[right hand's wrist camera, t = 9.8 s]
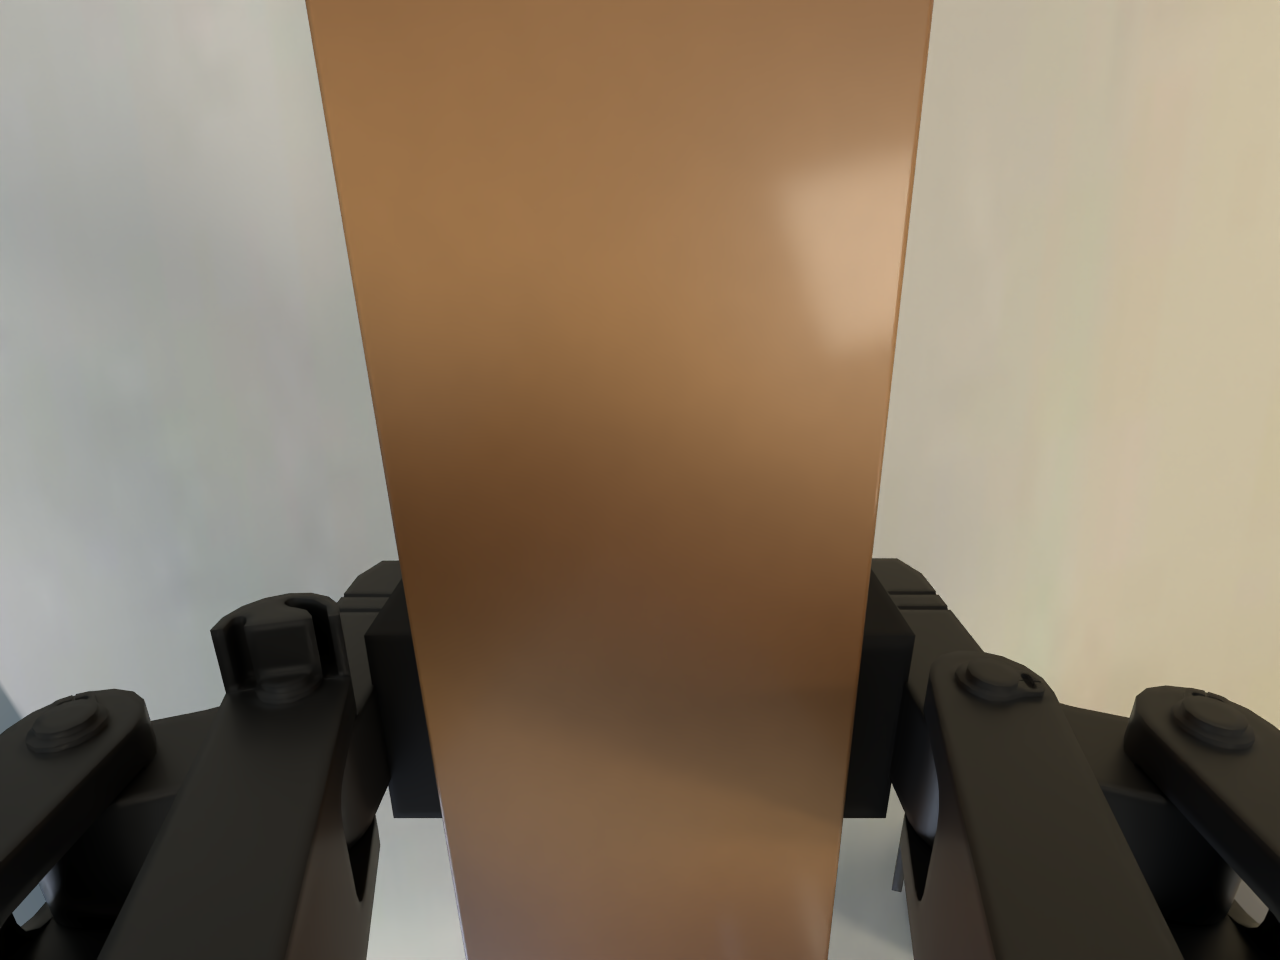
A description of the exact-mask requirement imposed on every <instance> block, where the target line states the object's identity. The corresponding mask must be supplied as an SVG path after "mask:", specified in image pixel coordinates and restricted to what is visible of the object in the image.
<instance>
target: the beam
mask: <svg viewBox="0 0 1280 960" xmlns="http://www.w3.org/2000/svg"><path fill="white" fill-rule="evenodd" d="M305 2H306V8H307V14H308V20H309V26H310V32H311V38H312V43H313V49H314V55H315V61H316V67H317V73H318V79H319V85H320V91H321V97H322V103H323V109H324V115H325V121H326V127H327V133H328V139H329V145H330V151H331V157H332V163H333V169H334V175H335V181H336V187H337V193H338V199H339V204H340V210H341V216H342V222H343V228H344V234H345V240H346V246H347V252H348V258H349V264H350V270H351V276H352V282H353V288H354V294H355V300H356V306H357V312H358V318H359V324H360V330H361V336H362V342H363V348H364V354H365V360H366V365H367V371H368V377H369V383H370V389H371V395H372V401H373V407H374V413H375V419H376V425H377V431H378V437H379V443H380V449H381V455H382V461H383V467H384V473H385V479H386V485H387V491H388V497H389V503H390V509H391V515H392V521H393V526H394V532H395V538H396V544H397V550H398V556H399V562H400V568H401V574H402V580H403V586H404V592H405V598H406V604H407V610H408V616H409V622H410V628H411V634H412V640H413V646H414V652H415V658H416V664H417V670H418V676H419V682H420V687H421V693H422V699H423V705H424V711H425V717H426V723H427V729H428V735H429V741H430V747H431V753H432V759H433V765H434V771H435V777H436V783H437V789H438V795H439V801H440V807H441V813H442V819H443V825H444V831H445V837H446V843H447V848H448V854H449V860H450V866H451V872H452V878H453V884H454V890H455V896H456V902H457V908H458V914H459V920H460V926H461V932H462V938H463V944H464V950H465V956H466V960H827V959H828V950H829V941H830V932H831V923H832V914H833V905H834V896H835V887H836V878H837V869H838V860H839V851H840V842H841V833H842V824H843V815H844V806H845V797H846V788H847V779H848V770H849V761H850V752H851V743H852V734H853V725H854V716H855V707H856V697H857V688H858V679H859V670H860V661H861V652H862V643H863V634H864V625H865V616H866V607H867V598H868V589H869V580H870V571H871V562H872V553H873V544H874V535H875V526H876V517H877V508H878V499H879V490H880V481H881V472H882V463H883V454H884V445H885V436H886V427H887V418H888V409H889V400H890V391H891V381H892V372H893V363H894V354H895V345H896V336H897V327H898V318H899V309H900V300H901V291H902V282H903V273H904V264H905V255H906V246H907V237H908V228H909V219H910V210H911V201H912V192H913V183H914V174H915V165H916V156H917V147H918V138H919V129H920V120H921V111H922V102H923V93H924V84H925V75H926V65H927V56H928V47H929V38H930V29H931V20H932V11H933V2H934V0H305Z"/></svg>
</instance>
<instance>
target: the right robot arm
mask: <svg viewBox="0 0 1280 960" xmlns="http://www.w3.org/2000/svg"><path fill="white" fill-rule="evenodd" d="M210 632H211V636H212V640H213V644H214V648H215V652H216V656H217V659H218V663H219V667H220V671H221V675H222V679H223V683H224V687H225V691H226V694H225V697H224V699H223V701H222V703H221V705H220V706H219V707H215V708H212V709H208V710H204V711H199V712H194V713H189V714H184V715H179V716H174V717H169V718H164V719H159V720H154V721H150V717H149V714H148V711H147V708H146V704H145V701H144V699H142V698H141V697H140V696H139V695H137V694H136V693H135V692H133V691H126V690H119V689H108V690H100V691H88V692H84V693H79V694H76V696H72V695H71V696H68V697H65V698H62V699H59V700H57V701H55V702H54V703H52V704H50V705H48V706H46V707H43V708H41V709H39V710H37V711H35V712H32V713H31V714H29V715H28V716H26V717H25V718H23V719H22V720H20V721H18V722H17V723H15V724H14V725H12V726H11V727H9V728H8V729H7V730H5V731H4V732H3V733H2V734H0V960H366V957H367V949H368V941H369V932H370V924H371V916H372V908H373V900H374V892H375V883H376V875H377V867H378V859H379V851H380V840H379V833H378V826H377V821H376V815H375V814H376V812H377V809H378V807H379V805H380V803H381V800H382V798H383V796H384V794H385V791H386V789H387V787H388V786H389V792H390V798H391V804H392V810H393V816H394V818H442V813H441V807H440V801H439V795H438V789H437V783H436V777H435V771H434V765H433V759H432V753H431V747H430V741H429V735H428V729H427V723H426V717H425V711H424V705H423V699H422V693H421V687H420V682H419V676H418V670H417V664H416V658H415V652H414V646H413V640H412V634H411V628H410V622H409V616H408V610H407V604H406V598H405V592H404V586H403V580H402V574H401V568H400V562H399V561H381V562H380V563H378V564H377V565H375V566H373V567H372V568H370V569H369V570H367V571H365V572H364V573H362V574H360V575H359V576H358V577H357V578H356V579H355V581H354V582H353V583H352V584H351V586H350V587H349V588H348V589H347V591H346V592H345V593H344V597H341V598H340V600H339V601H338V602H337V603H336V602H335V601H334V600H332V599H331V598H330V597H328V596H323V595H319V594H314V593H288V594H283V595H278V596H273V597H268V598H264V599H261V600H258V601H256V602H253V603H250V604H247V605H244V606H242V607H240V608H238V609H237V610H235V611H233V612H231V613H230V614H228V615H226V616H225V617H223V618H222V619H221V620H220V621H219V622H218V623H217V624H216V625H215V626H214V627H213V628H212V629H211V630H210ZM891 782H892V784H893V787H894V789H895V791H896V793H897V796H898V798H899V800H900V802H901V805H902V807H903V809H904V811H905V815H904V821H903V826H902V832H901V838H900V844H899V849H898V855H897V861H896V866H895V872H894V878H893V885H892V890H894V891H899V892H901V891H902V885H903V880H904V882H905V890H906V898H907V906H908V914H909V923H910V931H911V939H912V947H913V955H914V960H1280V730H1278V729H1277V728H1276V727H1275V726H1273V725H1272V724H1270V723H1269V722H1267V721H1266V720H1264V719H1263V718H1261V717H1260V716H1258V715H1257V714H1255V713H1254V712H1252V711H1250V710H1249V709H1247V708H1245V707H1242V706H1240V705H1238V704H1236V703H1233V702H1231V701H1229V700H1228V699H1226V698H1224V697H1222V696H1219V695H1216V694H1213V693H1210V692H1208V693H1206V692H1205V691H1203V690H1198V689H1194V688H1183V687H1174V686H1159V687H1152V688H1146V689H1145V690H1144V691H1143V692H1141V693H1140V694H1139V695H1137V696H1136V699H1135V702H1134V705H1133V709H1132V712H1131V715H1130V718H1127V717H1122V716H1117V715H1112V714H1107V713H1102V712H1097V711H1092V710H1087V709H1082V708H1077V707H1072V706H1069V705H1065V704H1061V703H1059V701H1058V699H1057V697H1056V695H1055V693H1054V692H1053V690H1052V689H1051V688H1050V687H1049V685H1048V684H1047V683H1046V682H1045V680H1044V679H1043V678H1042V677H1040V676H1039V675H1037V674H1036V673H1034V672H1033V671H1031V670H1030V669H1028V668H1027V667H1026V666H1024V665H1022V664H1019V663H1017V662H1014V661H1012V660H1010V659H1007V658H1005V657H1003V656H998V655H994V654H990V653H985V652H983V650H982V649H981V648H980V647H979V645H978V644H977V643H976V642H975V640H974V639H973V638H972V636H971V635H970V634H969V633H968V631H967V630H966V629H965V628H964V626H963V625H962V624H961V623H960V621H959V620H958V619H957V618H956V616H955V615H954V614H953V612H952V611H951V610H948V609H947V605H946V604H945V602H944V601H943V600H942V599H941V597H940V596H939V595H936V591H935V590H934V588H933V587H932V586H931V585H930V583H929V582H928V581H927V580H926V578H925V577H924V576H923V575H922V573H920V572H918V571H917V570H915V569H913V568H912V567H910V566H909V565H907V564H905V563H904V562H902V561H900V560H899V559H897V558H872V562H871V571H870V580H869V589H868V598H867V607H866V616H865V625H864V634H863V643H862V652H861V661H860V670H859V679H858V688H857V697H856V707H855V716H854V725H853V734H852V743H851V752H850V761H849V770H848V779H847V788H846V797H845V806H844V815H843V818H886V813H887V807H888V801H889V795H890V788H891ZM38 883H39V886H40V888H41V890H42V893H43V895H44V898H45V900H46V902H45V904H44V905H43V906H42V907H41V908H40V909H39V911H38V912H37V913H36V914H35V915H34V916H33V917H32V918H31V919H30V920H28V921H27V922H26V923H25V924H24V925H22V926H21V927H20V926H19V925H18V924H17V923H16V921H15V918H14V916H13V914H12V912H13V911H14V910H15V909H16V908H17V907H18V906H19V905H20V903H21V902H22V901H23V900H24V899H25V898H26V897H27V896H28V894H29V893H30V892H31V891H32V890H33V889H34V888H35V887H36V886H37V885H38Z"/></svg>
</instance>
